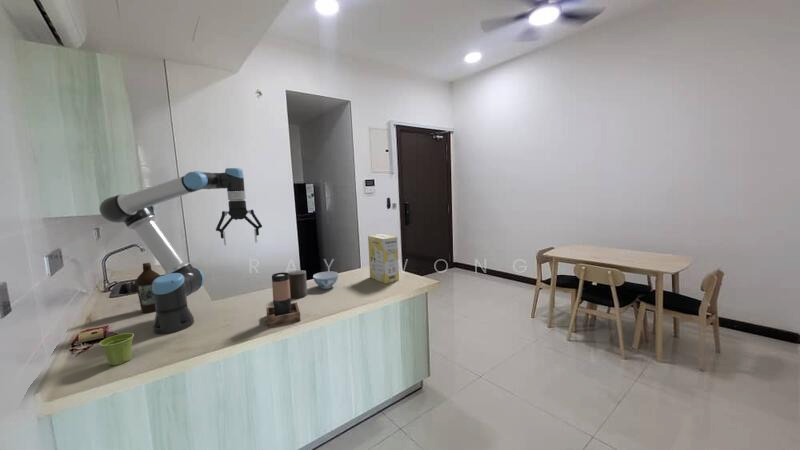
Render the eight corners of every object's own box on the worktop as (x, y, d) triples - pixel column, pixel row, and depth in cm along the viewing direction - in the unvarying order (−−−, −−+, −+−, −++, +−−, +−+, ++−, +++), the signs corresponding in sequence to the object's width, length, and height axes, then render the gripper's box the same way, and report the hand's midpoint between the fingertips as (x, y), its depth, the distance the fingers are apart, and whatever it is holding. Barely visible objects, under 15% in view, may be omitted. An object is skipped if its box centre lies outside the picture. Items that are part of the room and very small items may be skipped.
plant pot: (106, 359, 116) (103, 337, 115) (139, 351, 121) (136, 330, 120) (99, 371, 108) (95, 348, 107) (134, 362, 113) (131, 340, 112)
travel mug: (295, 314, 148) (292, 273, 146) (281, 320, 142) (279, 277, 140) (284, 311, 152) (281, 271, 150) (270, 317, 145) (267, 275, 143)
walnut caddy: (267, 327, 138) (266, 318, 137) (267, 315, 151) (266, 307, 150) (300, 320, 143) (299, 312, 143) (297, 310, 156) (296, 302, 156)
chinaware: (321, 293, 180) (320, 280, 179) (309, 287, 191) (308, 275, 190) (343, 286, 190) (342, 274, 189) (331, 281, 201) (330, 270, 200)
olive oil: (143, 308, 167) (136, 262, 164) (167, 304, 171) (161, 259, 168) (137, 315, 157) (129, 267, 154) (163, 310, 162) (156, 263, 159)
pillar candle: (293, 300, 170) (291, 273, 169) (287, 295, 178) (285, 269, 176) (310, 295, 177) (308, 270, 175) (303, 291, 184) (301, 266, 182)
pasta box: (398, 280, 199) (397, 236, 196) (385, 283, 193) (383, 239, 189) (383, 274, 214) (381, 233, 210) (370, 277, 207) (367, 235, 204)
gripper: (205, 202, 143) (210, 247, 146) (264, 199, 153) (268, 242, 155) (208, 201, 150) (213, 244, 153) (264, 199, 160) (268, 239, 162)
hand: (241, 243), depth 154 cm, fingers open, 13 cm apart
